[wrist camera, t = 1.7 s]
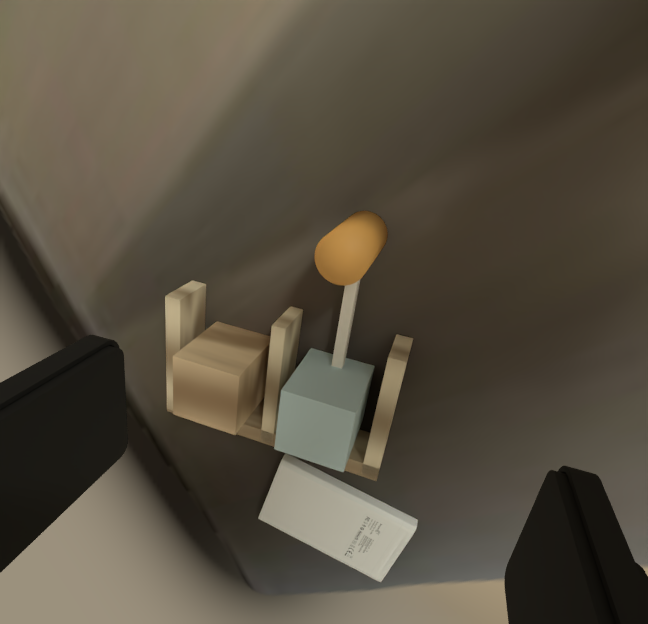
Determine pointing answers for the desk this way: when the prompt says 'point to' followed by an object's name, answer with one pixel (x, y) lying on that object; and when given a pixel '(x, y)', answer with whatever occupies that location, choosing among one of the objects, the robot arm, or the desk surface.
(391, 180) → the desk surface
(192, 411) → the plain block
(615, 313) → the desk surface
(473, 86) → the desk surface
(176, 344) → the shelf lanes
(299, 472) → the external hard drive
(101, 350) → the robot arm
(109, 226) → the desk surface
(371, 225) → the block
